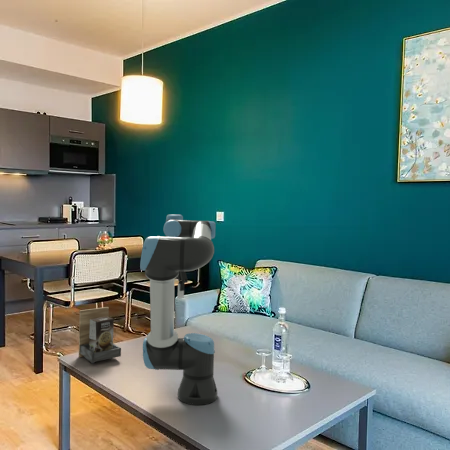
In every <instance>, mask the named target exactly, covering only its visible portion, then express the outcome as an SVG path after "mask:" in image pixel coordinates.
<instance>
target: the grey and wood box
mask: <svg viewBox="0 0 450 450" xmlns="http://www.w3.org/2000/svg"><path fill="white" fill-rule="evenodd" d="M109 309H110V308H109V306H104V307H97V308H89V309H82V310H81V309H80V310H79V319H78V320H79V321H78V323H79V324H78V329H79V330H78V358H85V359H86V360H87V361H88V362H90V363H91V364H95V362H99V361H104V360H109V359H110V360H113V359H114V358H118V357H119V358H120V357H121V356H122V348H121V346H119V345H117V344H115V343H113V349H111V350H106V351H101V352H95V353H93V352H92V351H90V350H89V333H90V319H95V318H100V317H106V316H107V317H109V316H110V315H109V313H110V311H109Z"/></svg>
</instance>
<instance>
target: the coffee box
mask: <svg viewBox="0 0 450 450" xmlns="http://www.w3.org/2000/svg"><path fill="white" fill-rule="evenodd" d="M114 320H115V319H114V318H112V317H107V316H106V317H100V318H95V319H90V333H89V350H90V351H92V352H93V353H95V352H101V351H106V350H111V349H113V344H114V324H115V323H114V322H115V321H114Z"/></svg>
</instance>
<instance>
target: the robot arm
mask: <svg viewBox="0 0 450 450" xmlns="http://www.w3.org/2000/svg"><path fill="white" fill-rule="evenodd" d="M163 233H164V235H165V236H160V235H157V236H147V237H146V238H145V240H144V242H143V245H142V249H141V257H140V263H139V264H140V266H139V267H140V271H144V273H145V277H146V278H147V279H149V297H150V302H149V303H150V305H149V307H150V309H149V310H150V332H149V333H147V336H146V337H144V338H143V341H142V342H143V343H142V360H143V364H144V366H145V368H147V369H149V370H155V371H156V370H157V371H159V370H161V371H162V370H165V371H167V370H170V371H172V370H173V371H174V370H175V371H179V370H180V371H182V377H181V381H180V384H179V387H178V389H177V399H179V401H180V402H182V403H183V404H188V405H192V406H203V405H208V404H211V403H213V402H215V401H216V400H217V399H218V388H217V385H216V382H215V377H214V368H215V367H214V366H215V363H214V362H215V353H216V351H215V342H214V340H213V338H212V337H209V336H208V335H206V334H202V333H198V332H197V333H196V332H191V333H185V335H184V336H183V337H179V335H178V333H177V331H176V330H175V279H178V283H177V299H182V298H184V297H185V296H184V295H185V284H186V283H188V281H189V280H188V276H187V273H186V272H193V271H195V270H196V271H197V270H198V269H201V268H202V267H204V266H205V265H207V264H208V263H210V261H211V260H212V259H213V257H214V254H215V246H214V243H213V241H212V239H215V237H216V222H215V221H210V220H189V219H188V220H187V219H184V216H183V215H182V214H167V215H166V219H165V223H164V225H163Z"/></svg>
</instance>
